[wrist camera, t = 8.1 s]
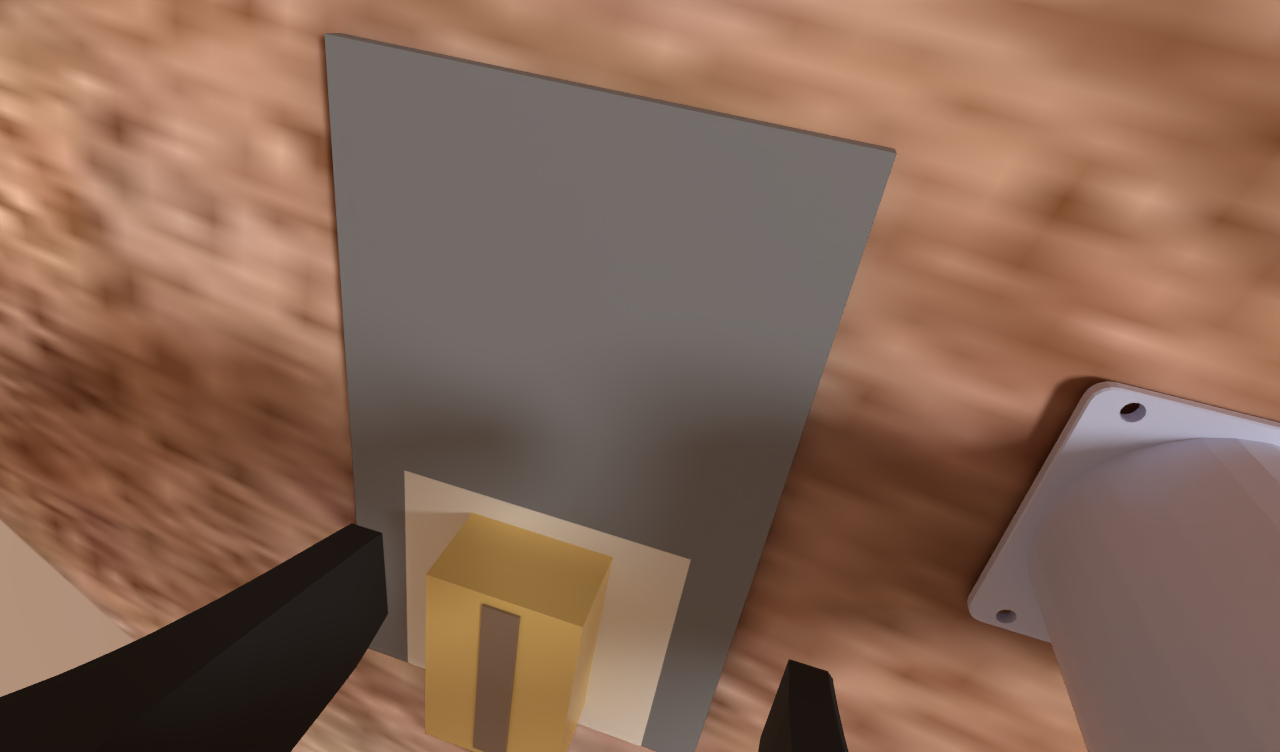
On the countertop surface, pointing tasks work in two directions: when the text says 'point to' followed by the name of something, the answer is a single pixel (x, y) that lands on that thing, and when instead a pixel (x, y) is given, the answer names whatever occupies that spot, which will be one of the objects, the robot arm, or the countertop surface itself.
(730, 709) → the countertop surface
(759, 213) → the mat
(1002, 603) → the robot arm
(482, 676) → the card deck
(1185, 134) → the countertop surface
